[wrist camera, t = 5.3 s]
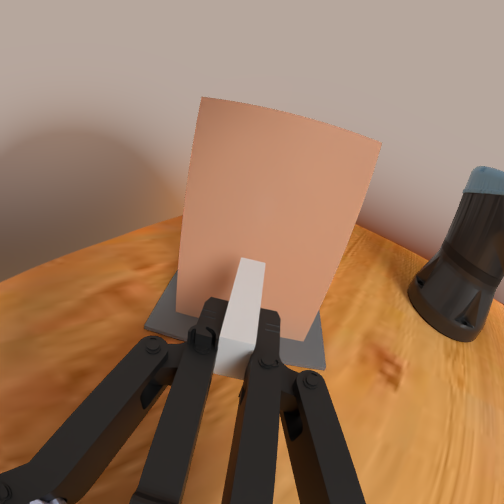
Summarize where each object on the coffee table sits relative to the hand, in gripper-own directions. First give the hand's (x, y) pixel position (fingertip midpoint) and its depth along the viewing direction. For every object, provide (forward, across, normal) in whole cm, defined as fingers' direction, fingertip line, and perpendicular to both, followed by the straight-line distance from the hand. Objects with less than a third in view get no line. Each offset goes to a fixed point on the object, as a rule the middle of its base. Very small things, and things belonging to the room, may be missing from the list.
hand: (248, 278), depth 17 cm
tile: (+5, 0, -8) cm, 9 cm away
